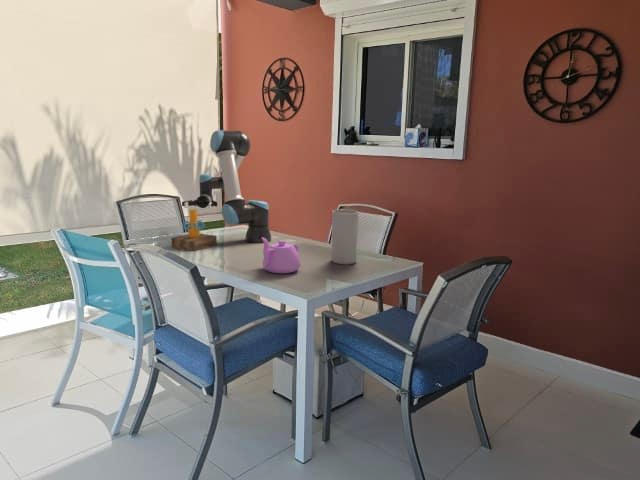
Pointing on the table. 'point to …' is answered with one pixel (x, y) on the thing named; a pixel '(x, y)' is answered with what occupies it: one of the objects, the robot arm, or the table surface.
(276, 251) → the teapot
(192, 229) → the orange blue tall piece
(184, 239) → the walnut block
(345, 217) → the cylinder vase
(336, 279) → the table surface
